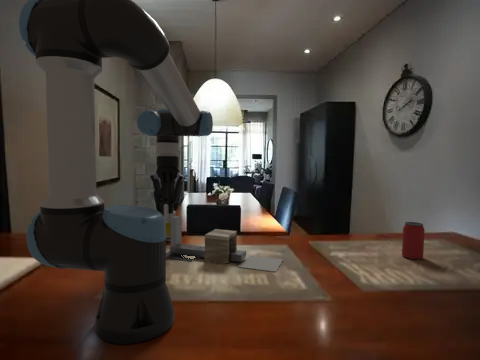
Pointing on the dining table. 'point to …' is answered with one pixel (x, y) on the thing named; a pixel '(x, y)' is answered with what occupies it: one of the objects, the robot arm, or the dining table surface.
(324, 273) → the dining table surface
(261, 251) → the dining table surface
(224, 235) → the tunnel
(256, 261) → the mat
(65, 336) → the dining table surface
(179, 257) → the grey shoe shape
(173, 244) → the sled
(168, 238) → the pill bottle
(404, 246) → the beer can
